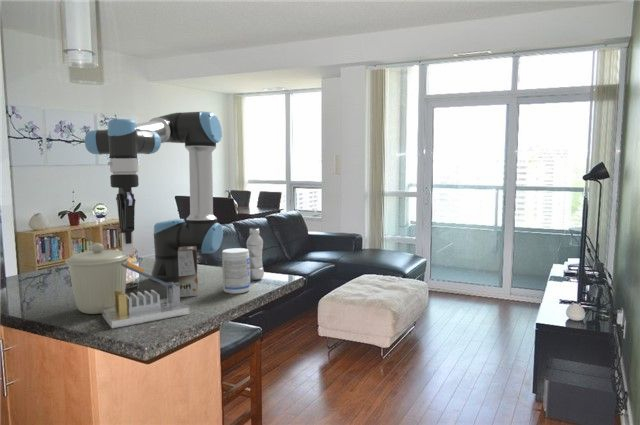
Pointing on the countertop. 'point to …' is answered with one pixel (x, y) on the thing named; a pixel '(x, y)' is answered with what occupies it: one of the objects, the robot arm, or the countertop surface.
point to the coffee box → (188, 271)
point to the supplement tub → (236, 270)
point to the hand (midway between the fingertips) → (128, 254)
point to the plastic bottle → (255, 254)
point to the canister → (97, 278)
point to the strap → (140, 271)
